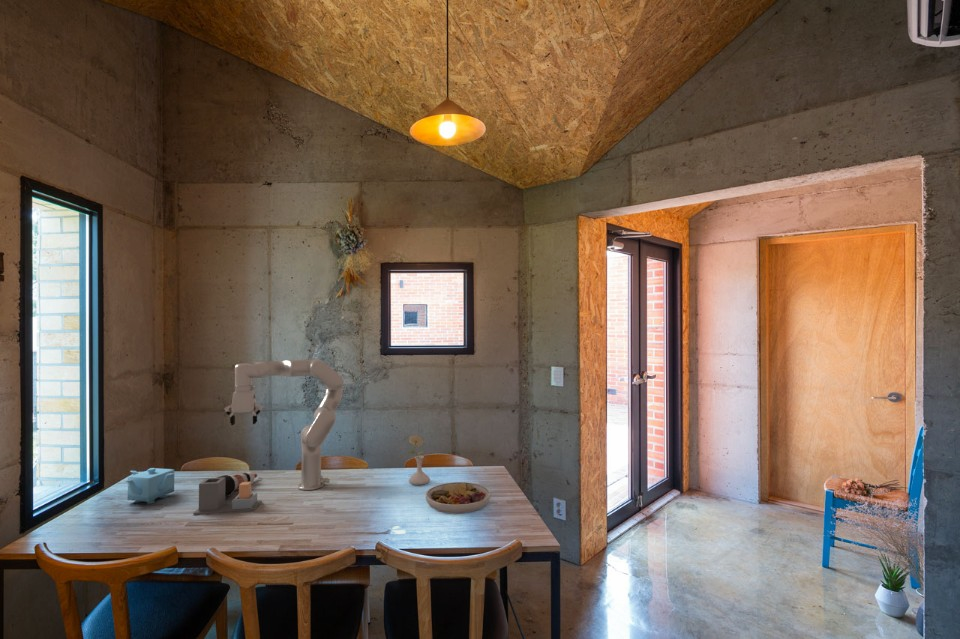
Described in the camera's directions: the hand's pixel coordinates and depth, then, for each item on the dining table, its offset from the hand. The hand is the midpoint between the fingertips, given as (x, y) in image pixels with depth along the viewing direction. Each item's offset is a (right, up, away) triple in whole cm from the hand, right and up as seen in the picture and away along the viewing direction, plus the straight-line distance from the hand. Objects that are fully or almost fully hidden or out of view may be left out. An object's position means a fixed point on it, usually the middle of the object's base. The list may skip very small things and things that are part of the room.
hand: (243, 424), depth 222 cm
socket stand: (0, -35, -14) cm, 38 cm away
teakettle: (-44, -36, -3) cm, 57 cm away
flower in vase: (+82, -36, +19) cm, 92 cm away
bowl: (+105, -35, -9) cm, 111 cm away
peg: (+7, -34, -13) cm, 37 cm away
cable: (-9, -36, +9) cm, 38 cm away
